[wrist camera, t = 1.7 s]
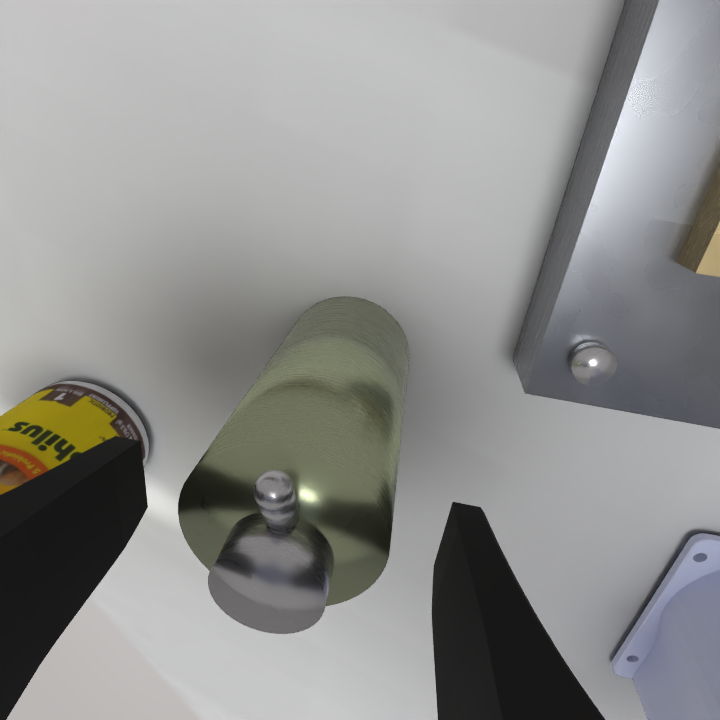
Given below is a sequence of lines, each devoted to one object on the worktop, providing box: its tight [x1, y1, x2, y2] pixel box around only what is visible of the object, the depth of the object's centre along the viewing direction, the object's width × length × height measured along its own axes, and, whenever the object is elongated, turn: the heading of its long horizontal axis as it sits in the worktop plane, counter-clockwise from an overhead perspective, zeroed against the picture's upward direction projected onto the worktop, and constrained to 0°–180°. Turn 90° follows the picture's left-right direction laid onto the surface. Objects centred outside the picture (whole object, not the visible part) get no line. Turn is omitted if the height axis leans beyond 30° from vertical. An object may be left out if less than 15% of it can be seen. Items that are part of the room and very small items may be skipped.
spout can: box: [178, 297, 409, 634], centre depth 13 cm, size 5×5×10 cm
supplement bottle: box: [0, 381, 149, 495], centre depth 17 cm, size 6×6×10 cm
